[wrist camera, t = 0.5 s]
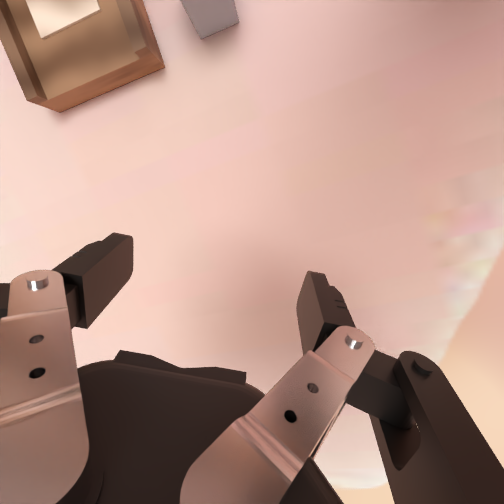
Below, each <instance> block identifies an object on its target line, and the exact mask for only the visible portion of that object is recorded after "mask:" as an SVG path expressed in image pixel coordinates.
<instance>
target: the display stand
mask: <svg viewBox="0 0 504 504" xmlns="http://www.w3.org/2000/svg"><path fill="white" fill-rule="evenodd" d="M0 40H1V42H2V44H3V46H4V49H5V51H6V53H7V56H8V58H9V60H10V63H11V65H12V67H13V70H14V72H15V74H16V77H17V79H18V81H19V84H20V86H21V88H22V90H23V93H24V95H25V97H26V100H27V101H29V102H32V103H35V104H38V105H40V106H43V107H46V108H49V109H52V110H54V111H57V112H62V111H64V110H67V109H69V108H71V107H74V106H76V105H78V104H81V103H83V102H85V101H88V100H90V99H92V98H94V97H97V96H99V95H101V94H104V93H106V92H108V91H111V90H113V89H115V88H118V87H120V86H122V85H125V84H127V83H129V82H131V81H134V80H136V79H138V78H141V77H143V76H145V75H148V74H150V73H152V72H155V71H157V70H159V69H161V68H164V67H165V65H164V62H163V59H162V56H161V53H160V50H159V47H158V44H157V42H156V39H155V36H154V33H153V30H152V27H151V24H150V21H149V18H148V15H147V12H146V9H145V6H144V3H143V0H0Z"/></svg>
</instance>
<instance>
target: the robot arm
mask: <svg viewBox="0 0 504 504" xmlns="http://www.w3.org/2000/svg"><path fill="white" fill-rule="evenodd" d="M132 271H133V238H132V236H129V235H124V234H119V233H112V234H111V235H109V236H108V237H107V238H105V239H104V240H103V241H97V242H94V243H91V244H88V245H86V246H85V247H83V248H82V249H81V250H79V252H76V253H75V254H74V255H73V256H71V257H69V258H68V259H66V260H65V261H64V262H62V263H61V264H59V265H58V266H57V267H55V268H54V269H52V270H36V271H30V272H27V273H24V274H21V275H19V276H17V277H16V278H14V279H13V280H12V282H11V283H0V504H344V503H343V502H342V500H341V499H340V498H339V496H338V495H337V493H336V492H335V490H334V489H333V488H332V486H331V485H330V483H329V482H328V480H327V479H326V477H325V476H324V475H323V473H322V472H321V470H320V469H319V467H318V466H317V464H316V463H315V462H314V458H315V456H316V454H317V453H318V451H319V449H320V447H321V445H322V444H323V442H324V440H325V438H326V437H327V435H328V433H329V432H330V430H331V428H332V427H333V425H334V423H335V422H336V420H337V418H338V416H339V415H340V413H341V411H342V410H343V408H344V406H345V405H346V403H347V404H349V405H351V406H353V407H356V408H358V409H360V410H362V411H364V412H366V413H368V414H369V416H370V419H371V423H372V426H373V430H374V433H375V437H376V440H377V444H378V447H379V451H380V454H381V457H382V461H383V464H384V468H385V471H386V475H387V478H388V482H389V485H390V489H391V492H392V496H393V499H394V502H395V504H504V468H503V467H502V465H501V464H500V462H499V461H498V459H497V457H496V456H495V454H494V453H493V451H492V449H491V448H490V446H489V445H488V443H487V442H486V440H485V438H484V437H483V435H482V434H481V432H480V430H479V429H478V427H477V426H476V424H475V423H474V421H473V419H472V418H471V416H470V415H469V413H468V412H467V410H466V408H465V407H464V405H463V403H462V402H461V400H460V399H459V397H458V396H457V394H456V392H455V391H454V389H453V388H452V386H451V384H450V383H449V381H448V380H447V378H446V377H445V375H444V373H443V372H442V371H441V369H440V368H439V367H438V366H437V365H436V364H435V363H434V362H433V361H431V360H430V359H428V358H427V357H425V356H423V355H421V354H419V353H416V352H412V351H404V352H402V353H401V354H400V356H399V358H398V359H396V358H393V357H391V356H389V355H386V354H384V353H381V352H379V351H377V350H375V346H374V343H373V341H372V340H371V339H370V337H369V336H368V335H366V334H365V333H364V332H362V331H361V330H359V329H357V328H356V327H355V325H354V322H353V320H352V318H351V315H350V313H349V310H348V309H347V306H346V303H345V301H344V299H343V296H342V294H341V293H340V292H339V291H338V290H337V289H336V288H335V287H334V286H329V284H328V281H327V278H326V276H325V274H322V273H317V272H312V271H308V272H307V274H306V276H305V279H304V282H303V285H302V288H301V291H300V294H299V297H298V301H297V317H298V324H299V330H300V337H301V343H302V350H303V357H302V358H301V359H300V360H299V361H298V362H297V363H296V364H295V365H294V366H293V367H292V368H291V369H290V370H289V371H288V372H287V373H286V374H285V375H284V376H283V378H282V379H281V380H280V381H279V382H278V383H277V384H276V385H275V386H274V387H273V388H272V389H271V390H270V391H269V392H268V393H267V394H266V395H265V394H264V393H262V392H261V391H260V390H258V389H257V388H255V387H253V386H252V385H250V384H248V383H246V372H242V371H236V370H231V369H225V368H219V367H201V368H180V367H177V366H175V365H173V364H170V363H168V362H166V361H163V360H161V359H159V358H156V357H154V356H152V355H146V354H140V353H135V352H129V351H123V350H120V351H119V352H118V354H117V356H116V357H115V359H114V360H107V361H100V362H95V363H91V364H88V365H85V366H82V367H80V368H77V364H76V358H75V351H74V345H73V338H72V332H71V330H72V328H73V327H80V328H85V329H88V327H89V326H90V325H91V324H92V323H93V321H94V320H95V319H96V318H97V317H98V316H99V314H100V313H101V312H102V311H103V310H104V309H105V307H106V306H107V305H108V304H109V303H110V302H111V300H112V299H113V298H114V297H115V296H116V294H117V293H118V292H119V291H120V290H121V289H122V287H123V286H124V285H125V284H126V283H127V282H128V280H129V279H130V277H131V275H132ZM416 424H417V425H416ZM417 426H418V427H417Z"/></svg>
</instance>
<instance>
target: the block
mask: <svg viewBox="0 0 504 504" xmlns="http://www.w3.org/2000/svg"><path fill="white" fill-rule="evenodd" d="M180 1H181V2H182V4H183V6H184V8H185V10H186V12H187V14H188V16H189V18H190V19H191V21H192V23H193V25H194V27H195V29H196V31H197V33H198V34H199V36H200V38H201V39H203V38H205V37H207V36H210V35H212V34H214V33H216V32H219V31H221V30H223V29H225V28H228V27H230V26H232V25H235V24H237V23H239V19H238V15H237V11H236V7H235V3H234V0H180Z"/></svg>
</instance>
